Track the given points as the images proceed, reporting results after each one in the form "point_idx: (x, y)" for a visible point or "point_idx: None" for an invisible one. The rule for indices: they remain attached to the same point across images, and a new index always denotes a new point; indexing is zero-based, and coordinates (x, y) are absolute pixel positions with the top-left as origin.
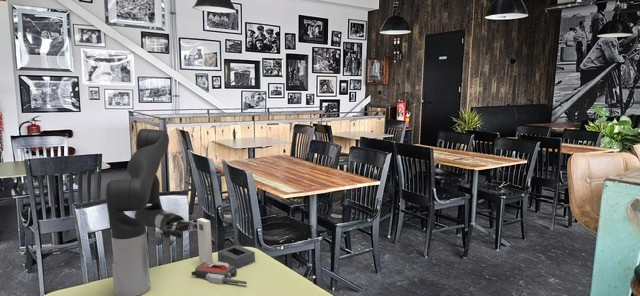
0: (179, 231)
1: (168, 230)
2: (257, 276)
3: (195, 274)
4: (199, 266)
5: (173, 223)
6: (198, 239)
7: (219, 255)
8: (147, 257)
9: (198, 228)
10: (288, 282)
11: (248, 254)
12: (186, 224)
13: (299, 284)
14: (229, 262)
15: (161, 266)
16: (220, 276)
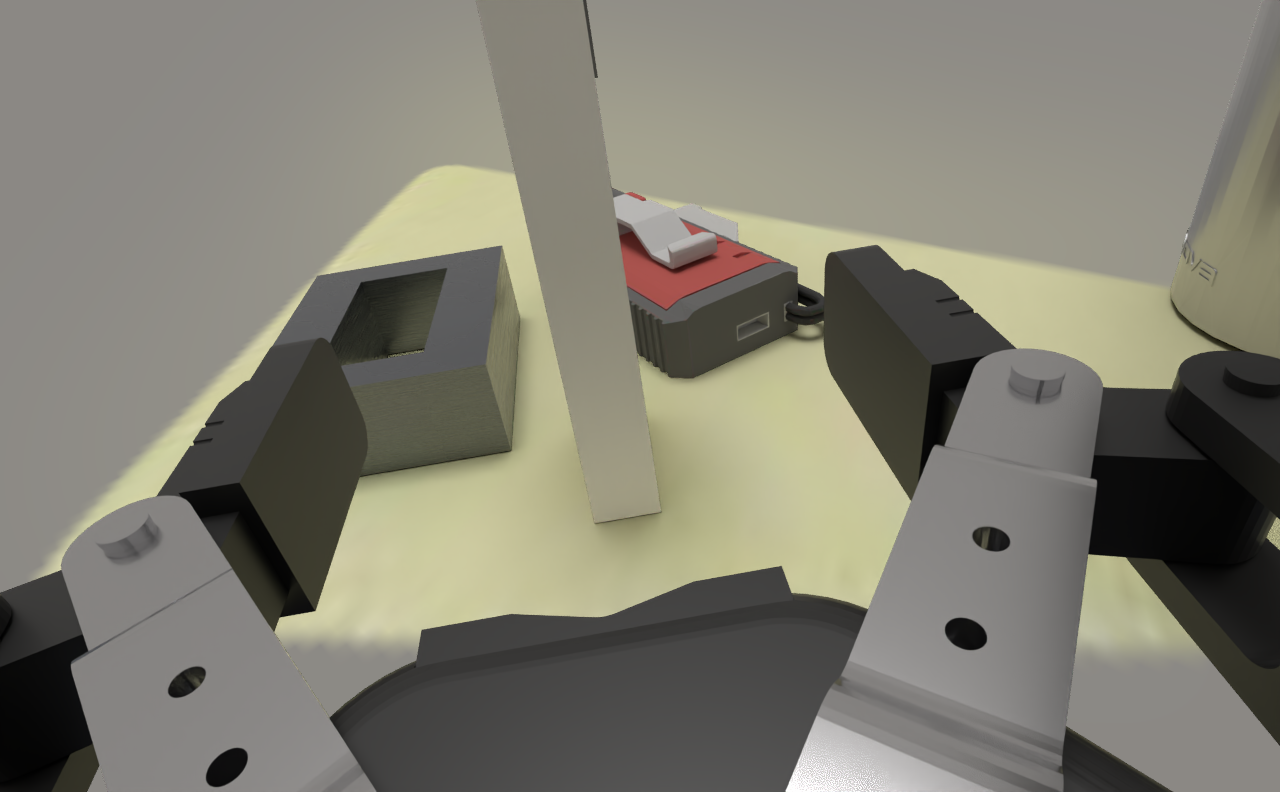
0: (860, 266)
1: (1196, 369)
2: (498, 245)
3: (802, 293)
4: (756, 273)
5: (1058, 790)
6: (621, 258)
7: (496, 380)
8: (1259, 8)
9: (594, 75)
10: (453, 197)
11: (377, 268)
12: (413, 665)
13: (440, 185)
14: (509, 322)
15: (1152, 621)
16: (684, 212)
